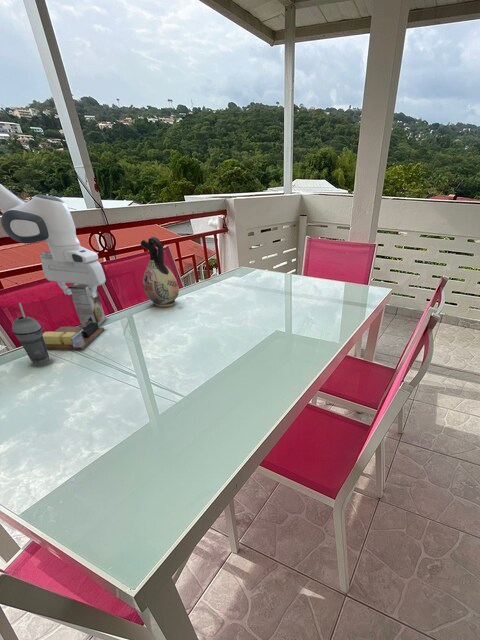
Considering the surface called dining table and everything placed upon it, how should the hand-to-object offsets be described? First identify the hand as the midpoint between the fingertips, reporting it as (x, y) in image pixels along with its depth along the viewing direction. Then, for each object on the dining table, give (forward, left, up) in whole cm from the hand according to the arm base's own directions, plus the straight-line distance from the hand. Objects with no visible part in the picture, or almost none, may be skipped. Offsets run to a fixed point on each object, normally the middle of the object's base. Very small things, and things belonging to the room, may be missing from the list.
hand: (80, 295), depth 115 cm
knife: (-2, -2, -15) cm, 15 cm away
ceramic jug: (+16, +40, -16) cm, 45 cm away
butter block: (-10, -6, -15) cm, 19 cm away
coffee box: (-6, +15, -16) cm, 23 cm away
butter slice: (-5, -6, -15) cm, 17 cm away
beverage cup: (-8, -20, -16) cm, 27 cm away
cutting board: (-7, -1, -16) cm, 18 cm away
